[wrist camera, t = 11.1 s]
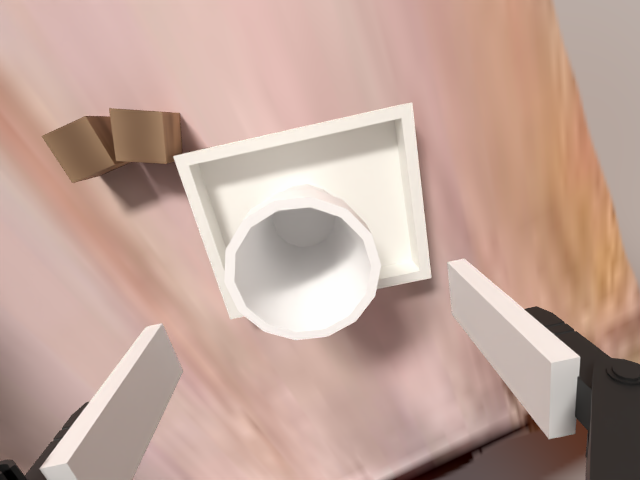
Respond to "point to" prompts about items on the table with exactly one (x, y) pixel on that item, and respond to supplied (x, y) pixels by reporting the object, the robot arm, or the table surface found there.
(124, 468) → the robot arm
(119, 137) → the walnut block
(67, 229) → the table surface
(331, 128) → the tray
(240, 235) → the foam cup
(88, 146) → the walnut block
